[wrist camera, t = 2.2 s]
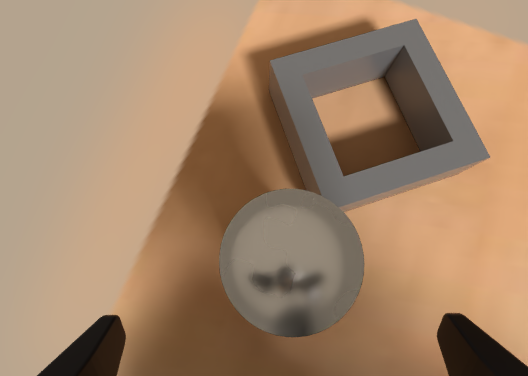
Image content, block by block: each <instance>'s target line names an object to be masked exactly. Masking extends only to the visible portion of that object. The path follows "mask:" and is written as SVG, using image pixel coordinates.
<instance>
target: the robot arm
mask: <svg viewBox="0 0 528 376" xmlns="http://www.w3.org/2000/svg"><path fill="white" fill-rule="evenodd" d="M437 339H438V343H439V346H440V349H441V352H442V355H443V358H444V361H445V364H446V368H447V371H448V374H449V376H528V366H526V365H525V364H524V363H523V362H521V361H520V360H519V359H518V358H516V357H515V356H514V355H513V354H511V353H510V352H509V351H508V350H506V349H505V348H504V347H503V346H502V345H500V344H499V343H498V342H497V341H495V340H494V339H493V338H492V337H490V336H489V335H488V334H487V333H485V332H484V331H483V330H482V329H480V328H479V327H478V326H477V325H475V324H474V323H473V322H472V321H471V320H469V319H468V318H467V317H466V316H464V315H463V314H460V313H446V314H445V315H444V316H443V318H442V321H441V323H440V326H439V329H438V332H437ZM125 340H126V335H125V331H124V328H123V325H122V322H121V320H120V317H119V316H118V315H104V316H102V317H101V318H99V319H98V320H97V321H96V322H95V323H94V324H93V325H92V326H91V327H89V328H88V329H87V330H86V331H85V332H84V333H83V334H82V335H81V336H80V337H79V338H77V339H76V340H75V341H74V342H73V343H72V344H71V345H70V346H69V347H68V348H67V349H65V350H64V351H63V352H62V353H61V354H60V355H59V356H58V357H57V358H56V359H55V360H54V361H52V362H51V364H49V365H48V366H47V367H46V368H45V369H44V370H43V371H41V373H39V374H38V375H37V376H117V372H118V368H119V364H120V360H121V356H122V353H123V349H124V345H125Z"/></svg>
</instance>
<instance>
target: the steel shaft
mask: <svg viewBox="0 0 528 376" xmlns="http://www.w3.org/2000/svg"><path fill="white" fill-rule="evenodd" d="M219 267H220V275H221V280H222V284H223V286H224V289H225V292H226V294H227V296H228V298H229V300H230V301H231V303H232V304H233V306H234V307H235V309H236V310H237V311H238V312H239V313H240V314H241V315H242V317H244V318H245V319H246V320H247V321H248V322H250V323H251V324H253V325H254V326H256V327H257V328H259V329H261V330H263V331H265V332H268V333H271V334H274V335H278V336H284V337H302V336H309V335H312V334H316V333H318V332H321V331H323V330H325V329H327V328H329V327H330V326H332V325H333V324H335V323H336V322H337V321H339V320H340V319H341V318H342V317H343V316H344V315H345V314H346V313H347V311H348V310H349V309H350V307H351V306H352V305H353V303H354V301H355V299H356V297H357V295H358V293H359V290H360V288H361V285H362V280H363V275H364V254H363V249H362V244H361V241H360V238H359V236H358V233H357V231H356V229H355V227H354V226H353V224H352V222H351V221H350V219H349V218H348V217H347V216H346V214H345V213H344V212H343V211H342V210H341V209H340V208H339V207H338V206H336V205H335V204H334V203H332V202H331V201H330V200H328V199H326V198H324V197H323V196H321V195H318V194H316V193H313V192H310V191H306V190H300V189H280V190H274V191H270V192H267V193H265V194H262V195H260V196H258V197H256V198H254V199H253V200H251V201H250V202H248V203H247V204H246V205H244V206H243V207H242V208H241V209H240V210H239V211H238V212H237V214H236V215H235V216H234V217H233V219H232V220H231V222H230V224H229V225H228V227H227V229H226V231H225V234H224V236H223V239H222V243H221V248H220V254H219Z"/></svg>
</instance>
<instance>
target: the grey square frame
mask: <svg viewBox="0 0 528 376" xmlns="http://www.w3.org/2000/svg"><path fill="white" fill-rule="evenodd" d="M382 77H385V78H386V80H387V82H388V85H389V87H390V89H391V91H392V93H393V95H394V97H395V99H396V101H397V103H398V105H399V108H400V110H401V112H402V114H403V116H404V118H405V120H406V122H407V124H408V126H409V128H410V130H411V133H412V135H413V137H414V139H415V141H416V143H417V145H418V147H419V149H420V151H421V152H418V153H415V154H412V155H409V156H406V157H403V158H400V159H396V160H393V161H390V162H387V163H384V164H381V165H378V166H375V167H372V168H369V169H365V170H362V171H359V172H356V173H353V174H350V175H347V176H343V174H342V171H341V169H340V166H339V164H338V161H337V159H336V156H335V154H334V152H333V149H332V147H331V144H330V142H329V139H328V137H327V134H326V132H325V129H324V127H323V125H322V122H321V120H320V117H319V115H318V112H317V110H316V107H315V105H314V103H313V100H312V98H315V97H318V96H322V95H325V94H328V93H332V92H335V91H338V90H342V89H345V88H348V87H352V86H355V85H358V84H362V83H365V82H368V81H372V80H375V79H378V78H382ZM269 92H270V95H271V97H272V100H273V103H274V105H275V108H276V111H277V113H278V116H279V119H280V121H281V124H282V127H283V129H284V132H285V135H286V138H287V140H288V143H289V146H290V148H291V151H292V154H293V156H294V159H295V162H296V164H297V167H298V170H299V172H300V175H301V178H302V180H303V183H304V186H305V188H306V191H310V192H313V193H316V194H318V195H321V196H323V197H324V198H326V199H328V200H330V201H331V202H332V203H334V204H335V205H336V206H338V207H339V208H340V209H341V210H342V211H343V212H345V211H348V210H351V209H354V208H357V207H361V206H364V205H367V204H370V203H373V202H376V201H379V200H382V199H385V198H388V197H391V196H394V195H397V194H400V193H403V192H406V191H409V190H412V189H415V188H418V187H421V186H424V185H427V184H430V183H433V182H436V181H439V180H442V179H445V178H448V177H451V176H454V175H457V174H459V173H461V172H462V171H464V170H466V169H468V168H470V167H472V166H474V165H476V164H478V163H480V162H482V161H484V160H486V159H488V158H490V156H489V154H488V152H487V150H486V148H485V146H484V144H483V142H482V141H481V139H480V137H479V135H478V133H477V131H476V129H475V127H474V126H473V124H472V122H471V120H470V118H469V116H468V114H467V112H466V111H465V109H464V107H463V105H462V103H461V101H460V99H459V98H458V96H457V94H456V92H455V90H454V88H453V86H452V84H451V83H450V81H449V79H448V77H447V75H446V73H445V71H444V69H443V68H442V66H441V64H440V62H439V60H438V58H437V56H436V54H435V53H434V51H433V49H432V47H431V45H430V43H429V41H428V39H427V38H426V36H425V34H424V32H423V30H422V28H421V26H420V25H419V23H418V21H417V19H414V20H410V21H407V22H403V23H400V24H396V25H393V26H389V27H386V28H382V29H379V30H375V31H372V32H368V33H365V34H361V35H358V36H354V37H351V38H347V39H344V40H340V41H337V42H333V43H330V44H326V45H323V46H319V47H316V48H312V49H309V50H305V51H302V52H298V53H295V54H291V55H288V56H284V57H281V58H277V59H274V60H270V72H269Z"/></svg>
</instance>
